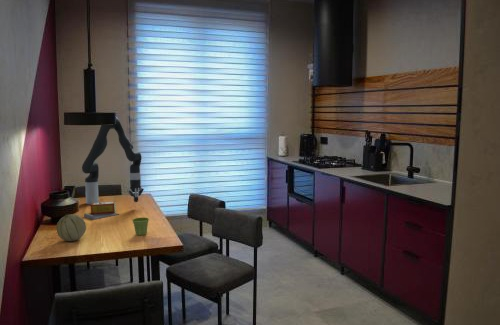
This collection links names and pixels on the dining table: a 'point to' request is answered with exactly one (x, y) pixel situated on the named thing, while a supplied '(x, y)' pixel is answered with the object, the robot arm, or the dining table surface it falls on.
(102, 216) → the bookend
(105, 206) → the baking soda box
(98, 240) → the dining table surface
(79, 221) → the cantaloupe
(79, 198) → the dining table surface
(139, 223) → the plant pot
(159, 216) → the dining table surface
